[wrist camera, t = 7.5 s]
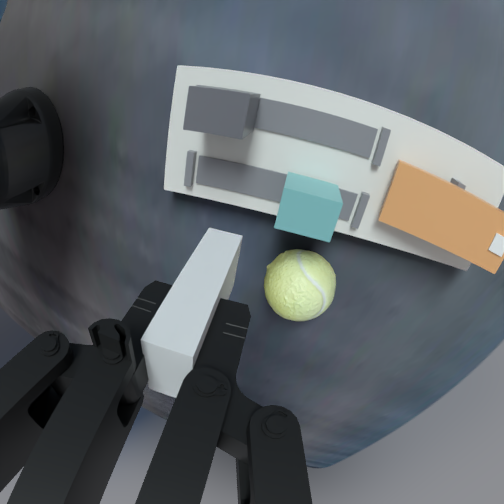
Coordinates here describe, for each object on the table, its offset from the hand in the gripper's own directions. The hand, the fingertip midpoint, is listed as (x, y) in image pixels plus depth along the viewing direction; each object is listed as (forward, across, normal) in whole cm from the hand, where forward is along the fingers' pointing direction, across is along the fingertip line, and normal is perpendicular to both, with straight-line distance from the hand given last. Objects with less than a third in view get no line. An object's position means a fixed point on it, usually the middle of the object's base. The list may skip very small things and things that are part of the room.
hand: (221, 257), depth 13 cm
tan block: (+9, +16, +2) cm, 18 cm away
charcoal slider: (+11, -3, +5) cm, 13 cm away
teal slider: (+11, +4, 0) cm, 12 cm away
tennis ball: (+14, +6, -8) cm, 17 cm away
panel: (+14, +7, +3) cm, 15 cm away
